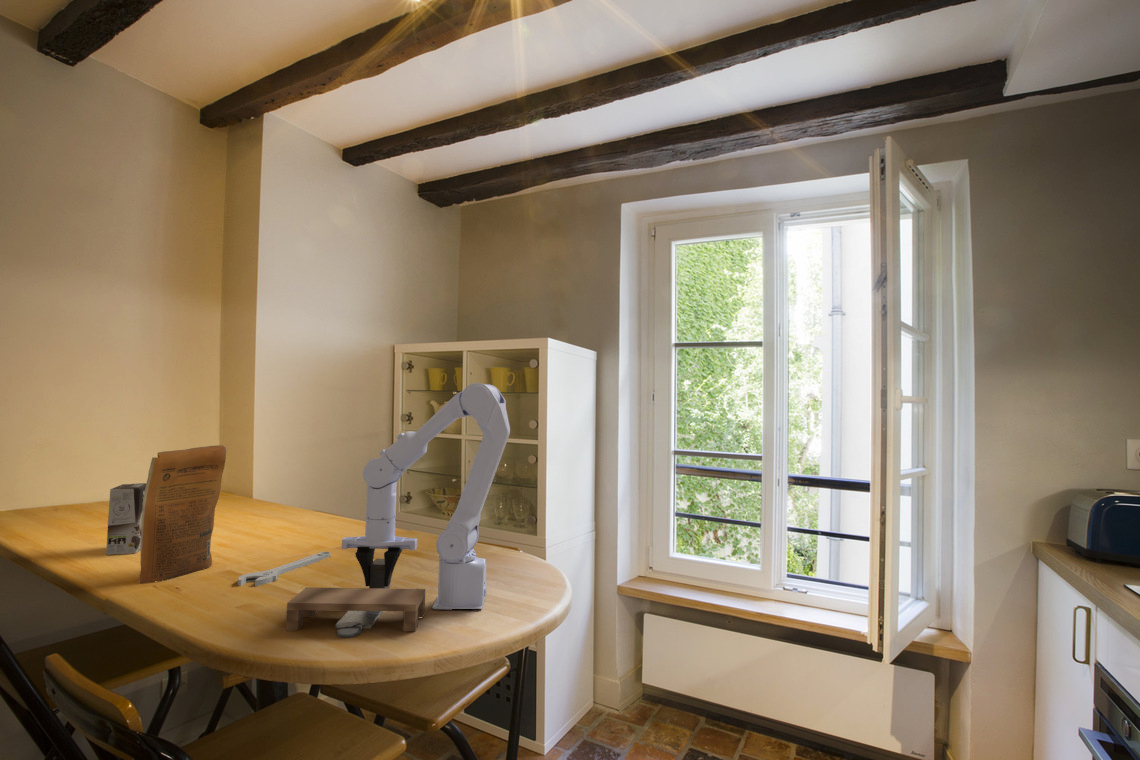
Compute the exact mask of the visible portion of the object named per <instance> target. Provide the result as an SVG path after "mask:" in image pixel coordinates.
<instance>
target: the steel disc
mask: <svg viewBox="0 0 1140 760" xmlns="http://www.w3.org/2000/svg"><path fill="white" fill-rule="evenodd" d="M362 630H363V628H362V624H361V623H359V622H346V623H343V624H340V625H339V626H338V627H337V628H336V636H337V637H338V638H341V639H349V638H350V639H351V638H352V639H353V638H356V637H358V636H360V635H361V634H362V632H363V631H362Z"/></svg>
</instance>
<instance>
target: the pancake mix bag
mask: <svg viewBox="0 0 1140 760" xmlns="http://www.w3.org/2000/svg"><path fill="white" fill-rule="evenodd" d="M226 459H227V446H225V445H222V444H221V445H220V444H219V445H207V446H198V447H192V448H186V449H185V448H184V449H176V450H167V451H166V450H164V451H160V452H159V451H158V452H157V457H155V456H154V457H152V458H151V462H150V464H149V465H150V466H149V469H148V475H147V479H146V482H145V483H146V488H145V493H144V498H143V512H142V527H141V550H140V571H139V572H140V573H139V577H138V581H137V583H138V584H146V583H145V582H151V583H156V582H155V581H159V582H163V581H162V580H164V581H167V579H168V580H171V579H173V578H177V577H181V576H184V575H187V574H190V573H191V574H192V573H195V572H197V571H201V570H205V569H209V568H211V567H212V564H213V559H212V554H211V553H212V552H211V540H212V536H213V531H214V527H215V525H214V524H215V515H216V514H215V512H216V506H217V505H218V504H217V503H218V500H219V498H220V494H221V487H222V480H223V473H224V470H225V466H226Z"/></svg>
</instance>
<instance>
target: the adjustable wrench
mask: <svg viewBox="0 0 1140 760" xmlns="http://www.w3.org/2000/svg"><path fill="white" fill-rule="evenodd" d="M328 557H329V558H331V552H330V551H322V552H319V553H315V554H311V555H310V556H309V555H308V556H305V557H304V558H301V559H297V560H295V561H292V562H289V563H286V564H283V565H279V566H278V567H274V568H271V569H267V570H262V571H256V572H250V573H245V574H242V575H240V576H238V579H237V586H239V587H241V586H243V585H245V584H246V583H251V582H254V587H259V586H260V587H261V586H264V584H265V585H268V584H270V582H271V583H273V582H276V581H277V580H278V577H279V576H281V575H280V574H282V575H284V574H283V573H285V572H288V571H290V572H292V571H291V570H293V571H295V570H294V569H296V568H299V567H302V568H304V567H306V565H307V566H310V565H313V564H316V563H318V562H320V560H321V561H323V560H322V559H324V560H326V559H325V558H327V559H329V558H328ZM317 561H318V562H317ZM315 562H316V563H315ZM312 563H313V564H312ZM309 564H310V565H309ZM303 566H304V567H303ZM299 569H300V568H299ZM296 570H297V569H296ZM288 573H289V572H288ZM285 574H286V573H285ZM278 575H279V576H278ZM272 581H273V582H272ZM267 583H268V584H267Z"/></svg>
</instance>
